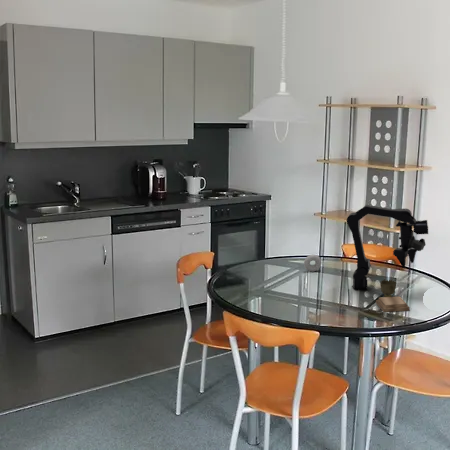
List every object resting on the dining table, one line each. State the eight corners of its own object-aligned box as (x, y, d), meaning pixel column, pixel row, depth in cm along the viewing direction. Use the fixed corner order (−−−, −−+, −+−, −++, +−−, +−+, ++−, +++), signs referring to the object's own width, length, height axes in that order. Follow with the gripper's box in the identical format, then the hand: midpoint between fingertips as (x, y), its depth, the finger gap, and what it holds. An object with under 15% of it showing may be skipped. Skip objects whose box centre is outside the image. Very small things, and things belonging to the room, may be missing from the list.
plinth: (383, 311, 265) (383, 305, 265) (375, 302, 277) (376, 296, 277) (409, 310, 266) (409, 304, 265) (400, 301, 278) (400, 295, 277)
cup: (384, 293, 289) (384, 278, 288) (398, 296, 285) (398, 280, 283) (377, 297, 284) (377, 282, 282) (391, 300, 279) (392, 284, 277)
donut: (305, 273, 328) (304, 255, 326) (303, 271, 331) (303, 254, 329) (322, 271, 329) (322, 254, 327) (320, 269, 333) (320, 253, 330)
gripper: (413, 240, 273) (415, 272, 276) (430, 231, 286) (431, 261, 289) (391, 238, 280) (393, 269, 283) (408, 230, 293) (410, 259, 296)
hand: (408, 265), depth 288 cm, fingers open, 9 cm apart
